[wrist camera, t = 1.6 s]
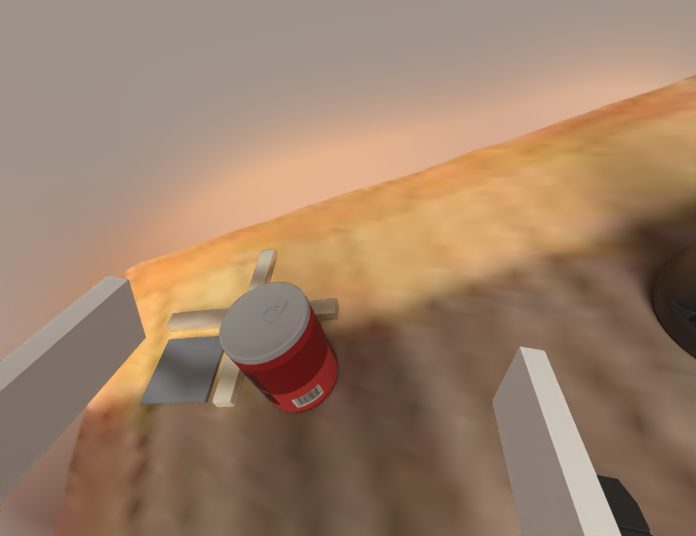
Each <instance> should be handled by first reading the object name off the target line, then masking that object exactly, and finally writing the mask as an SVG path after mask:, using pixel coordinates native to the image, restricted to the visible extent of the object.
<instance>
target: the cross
mask: <svg viewBox="0 0 696 536" xmlns="http://www.w3.org/2000/svg"><path fill="white" fill-rule="evenodd" d="M276 258H277V253H276V251H275V249H268V250H261V253H260V256H259V259H258V262H257V265H256V268H255V271H254V274H253V278H252V281H251V284H250V287H249V290H248V292H249V291H250V290H252V289H254V288H256V287H258V286H261V285H264V284H268V283H270V279H271V276H272V272H273V269H274V265H275V261H276ZM309 303H310V305H311V307H312V309H313V311H314V313H315V315H316V317H317V319H318V320H328V319H337V318H338V308H339V304H338V302H337V299H328V300H317V301H309ZM229 309H230V308H227V309H216V310H205V311H194V312H183V313H173V314H172V316H171V318H170V320H169V322H168V324H167V327H168V328H169V329H170V330H171V331H172V332H173V331H186V330H199V329H212V328H220V327H221V323H222V321H223V318H224V316H225V314H226V313H227V312H228V310H229ZM223 352H224V350H223V348H222V346H221V344H220V339H219V336H215V337H201V338H187V339H174V340H169V341H168V343H167V345H166V347H165V349H164V352H163V354H162V356H161V358H160V360H159V363H158V365H157V367H156V369H155V371H154V373H153V376H152V378H151V380H150V382H149V384H148V387H147V389H146V391H145V393H144V395H143V397H142V400H141V402H140V404H142V405H148V404H182V403H207V400H208V397H209V394H210V391H211V388H212V385H213V382H214V379H215V376H216V373H217V370H218V367H219V364H220V361H221V358H222V355H223ZM243 377H244V373H243V372H242V371H241V370H240V369H239V368H238V367H237V366H236V364H235V363H234V362H233V361H232V360H231V359H230V358H229V356H228V355H227V358H226V361H225V364H224V367H223V370H222V374H221V377H220V380H219V383H218V386H217V389H216V392H215V395H214V398H213V401H212V403H213V404H215V405H216V406H217V407H235V406H236V402H237V398H238V395H239V391H240V388H241V384H242V380H243Z"/></svg>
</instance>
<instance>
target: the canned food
mask: <svg viewBox="0 0 696 536" xmlns="http://www.w3.org/2000/svg"><path fill="white" fill-rule="evenodd" d="M219 339H220V344H221V346H222V348H223V350H224V351H225V353H226V354H227V355H228V356H229V358H230V359H231V360H232V361H233V362H234V363H235V364H236V366H237V367H238V368H239V369H240V370H241V371H242V372H243V373H244V374H245V375H246V376H247V377H248V378H249V379H250V380H251V381H252V383H253V384H254V385H255V386H256V387H257V388H258V389H259V390H260V391H261V392H262V393H263V394H264V395H265V396H266V397H267V398H268V400H269V401H270V402H271V403H272V404H273V405H274V406H275V407H277V408H279V409H280V410H284V411H287V412H294V413H298V412H305V411H308V410H310V409H312V408H314V407H316V406H318V405H319V404H320V403H322V402H323V401H324V400H325V399H326V398H327V397H328V396H329V394H330V393H331V391H332V389H333V388H334V385H335V383H336V379H337V373H338V363H337V358H336V356H335V354H334V351H333V349H332V347H331V345H330V343H329V341H328V339H327V337H326V335H325V333H324V331H323V329H322V327H321V325H320V323H319V321H318V319H317V317H316V315H315V313H314V311H313V309H312V307H311V305H310V303H309V301H308V299H307V297H306V296H305V295H304V293H303V292H302V291H301V290H300V289H299V288H298V287H296V286H295V285H292V284H290V283H285V282H273V283H268V284H264V285H261V286H258V287H256V288H254V289H252V290H250V291H249V292H247V293H246V294H244V295H243V296H242V297H240V298H239V299H238V300H237V301H236V302H235V303H234V304H233V305H232V306H231V307H230V309H229V310H228V312H227V313H226V314H225V316H224V318H223V321H222V323H221V327H220V332H219Z"/></svg>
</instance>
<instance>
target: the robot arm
mask: <svg viewBox="0 0 696 536" xmlns="http://www.w3.org/2000/svg"><path fill="white" fill-rule="evenodd" d="M652 300H653V305H654V309H655V312H656V314H657V316H658V318H659V320H660V322H661V324H662V325H663V327H664V328H665V329H666V331H667V332H668V333H669V334H670V335H671V337H672V338H673V339H674V340H675V341H676V342H677V343H678V344H679V345H680V346H682V347H683V348H684V349H685V350H686V351H687V352H689V353H690V354H691V355H693V356H694V357H695V358H696V240H695V241H694V242H692V243H691V244H689V245H688V246H687V247H685V248H684V249H682V250H681V251H679V252H678V253H677V254H675V255H674V256H673V257H672V258H671V259H670V260H669V261H668V262H667V264H666V265H665V266H664V268H663V270H662V271H661V273H660V275H659V276H658V278H657V280H656V282H655V284H654V287H653V292H652ZM145 338H146V336H145V333H144V330H143V326H142V323H141V319H140V316H139V313H138V309H137V306H136V302H135V299H134V296H133V292H132V289H131V286H130V282H129V279H125V278H119V277H113V276H107V277H105V278H104V279H103V280H101V281H100V282H99V283H98V284H96V285H95V286H94V287H93V288H91V289H90V290H89V291H88V292H86V293H85V294H84V295H83V296H81V297H80V298H79V299H78V300H76V301H75V302H74V303H73V304H71V305H70V306H69V307H68V308H66V309H65V310H64V311H63V312H61V313H60V314H59V315H58V316H57V317H56V318H54V319H53V320H51V321H50V322H49V323H48V324H47V325H45V326H44V327H43V328H42V329H40V330H39V331H38V332H36V333H35V334H34V335H33V336H31V337H30V338H29V339H28V340H26V341H25V342H24V343H23V344H21V345H20V346H19V347H18V348H16V349H15V350H14V351H13V352H12V353H10V354H9V355H8V356H6V357H5V358H4V359H3V360H1V361H0V504H1V503H2V502H3V501H4V500H5V499H6V497H7V496H8V495H9V494H10V493H11V492H12V490H13V489H14V488H15V487H16V486H17V485H18V484H19V482H20V481H21V480H22V479H23V478H24V477H25V476H26V474H27V473H28V472H29V471H30V470H31V469H32V467H33V466H34V465H35V464H36V463H37V462H38V461H39V459H40V458H41V457H42V456H43V455H44V454H45V453H46V451H47V450H48V449H49V448H50V447H51V446H52V445H53V443H54V442H55V441H56V440H57V439H58V437H60V435H61V434H62V433H63V432H64V431H65V430H66V428H67V427H68V426H69V425H70V424H71V422H72V421H73V420H74V419H75V418H76V417H77V416H78V415H79V414H80V412H81V411H82V410H83V409H84V408H85V407H86V406H87V404H88V403H89V402H90V401H91V400H92V399H93V397H94V396H95V395H96V394H97V393H98V392H99V391H100V389H101V388H102V387H103V386H104V385H105V384H106V383H107V381H108V380H109V379H110V378H111V377H112V376H113V375H114V373H115V372H116V371H117V370H118V369H119V368H120V366H121V365H122V364H123V363H124V362H125V361H126V360H127V358H128V357H129V356H130V355H131V354H132V353H133V352H134V350H135V349H136V348H137V347H138V346H139V345H140V343H141V342H142V341H143V340H144V339H145ZM492 402H493V407H494V411H495V416H496V420H497V425H498V429H499V434H500V439H501V443H502V448H503V452H504V457H505V462H506V466H507V471H508V475H509V480H510V485H511V489H512V494H513V498H514V503H515V507H516V512H517V517H518V521H519V526H520V530H521V535H522V536H653V535H651V534H650V532H649V531H650V529H649V527H648V525H647V523H646V521H645V519H644V516H643V514H642V512H641V510H640V508H639V506H638V504H637V502H636V501H635V500H634V499H633V497H632V496H631V495H630V494H629V492H628V491H627V490H626V489H625V487H624V486H623V485H622V484H621V482H620V481H619V480H618V479H615V478H610V477H604V476H599V475H596V473H595V471H594V468H593V466H592V464H591V461H590V459H589V456H588V454H587V452H586V449H585V447H584V444H583V442H582V440H581V437H580V435H579V432H578V430H577V428H576V425H575V423H574V420H573V418H572V416H571V413H570V411H569V408H568V406H567V404H566V401H565V399H564V396H563V394H562V392H561V389H560V387H559V384H558V382H557V380H556V377H555V375H554V372H553V370H552V368H551V365H550V363H549V360H548V358H547V356H546V353H545V351H543V350H537V349H531V348H525V347H519V349H518V351H517V353H516V355H515V357H514V359H513V361H512V363H511V365H510V367H509V369H508V371H507V373H506V375H505V377H504V379H503V381H502V383H501V385H500V387H499V389H498V391H497V393H496V395H495V397H494V398H493V400H492Z"/></svg>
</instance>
